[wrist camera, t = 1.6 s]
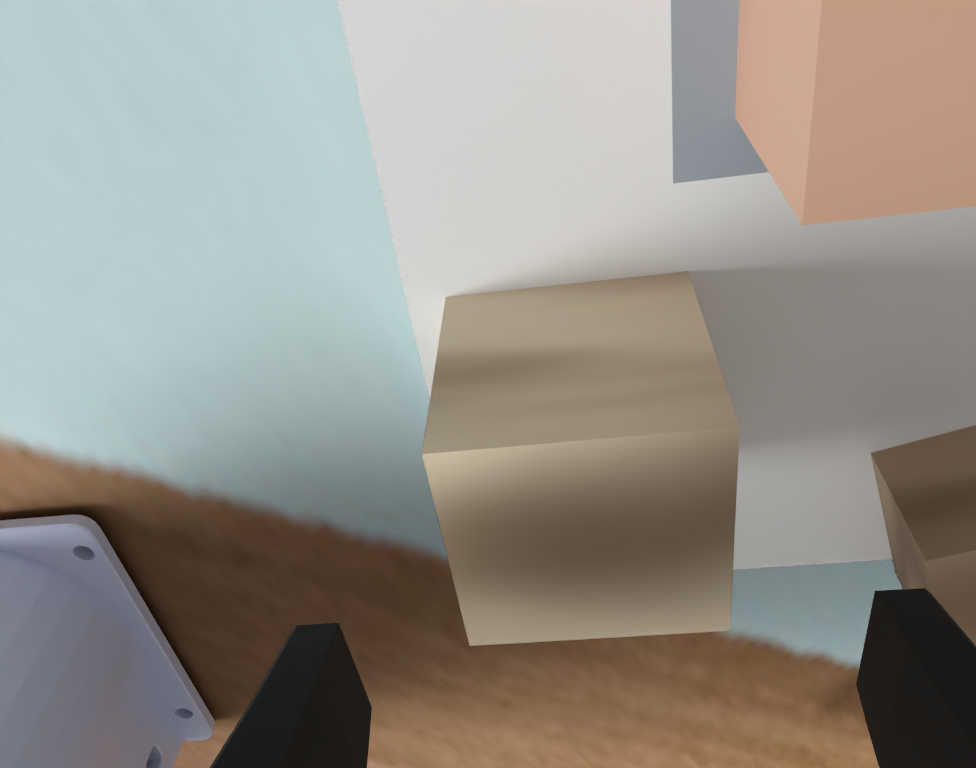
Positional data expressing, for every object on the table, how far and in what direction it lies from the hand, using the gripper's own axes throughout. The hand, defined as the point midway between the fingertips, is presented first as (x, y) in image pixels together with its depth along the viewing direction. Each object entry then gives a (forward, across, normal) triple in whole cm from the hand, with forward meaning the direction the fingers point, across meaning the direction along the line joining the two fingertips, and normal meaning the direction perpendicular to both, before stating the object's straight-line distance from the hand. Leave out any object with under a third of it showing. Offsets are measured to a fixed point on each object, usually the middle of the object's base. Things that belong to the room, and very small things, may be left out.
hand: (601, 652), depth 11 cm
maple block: (+6, 0, 0) cm, 6 cm away
